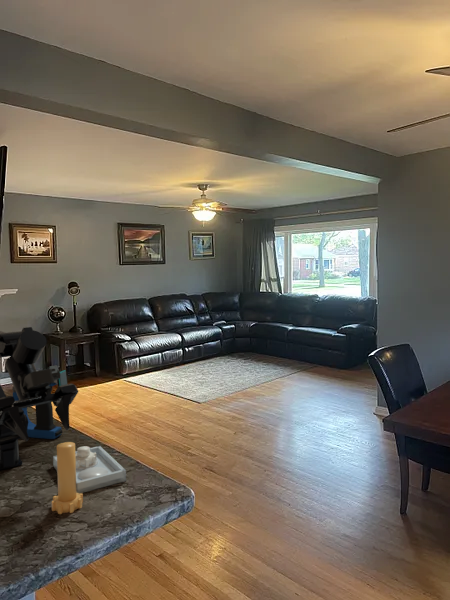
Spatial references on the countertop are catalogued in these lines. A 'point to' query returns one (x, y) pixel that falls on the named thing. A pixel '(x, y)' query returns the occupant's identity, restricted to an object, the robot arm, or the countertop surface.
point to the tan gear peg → (66, 480)
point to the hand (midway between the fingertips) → (48, 434)
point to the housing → (95, 469)
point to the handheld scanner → (44, 415)
